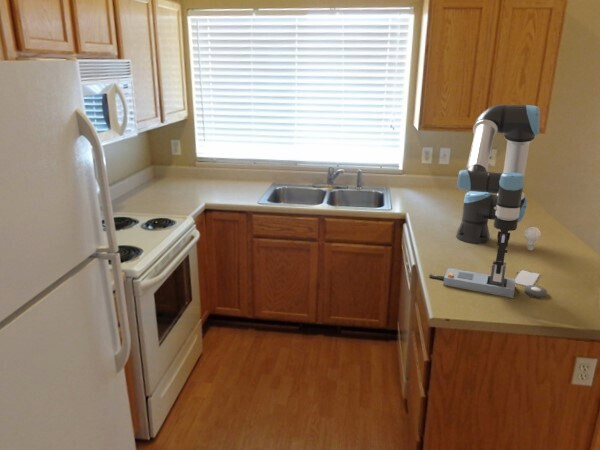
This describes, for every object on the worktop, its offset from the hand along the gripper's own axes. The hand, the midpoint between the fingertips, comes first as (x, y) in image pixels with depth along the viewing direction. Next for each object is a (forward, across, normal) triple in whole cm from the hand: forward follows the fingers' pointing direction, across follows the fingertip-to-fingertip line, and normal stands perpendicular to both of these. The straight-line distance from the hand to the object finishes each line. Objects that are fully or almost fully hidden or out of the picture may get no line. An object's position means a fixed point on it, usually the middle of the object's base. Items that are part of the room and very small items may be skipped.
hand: (497, 275), depth 168 cm
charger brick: (+5, 0, 0) cm, 5 cm away
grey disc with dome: (+6, -2, +13) cm, 14 cm away
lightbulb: (+6, -49, +11) cm, 51 cm away
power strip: (+5, 0, -9) cm, 11 cm away
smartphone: (+6, -15, +10) cm, 19 cm away
